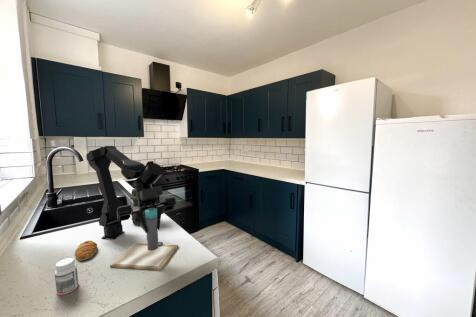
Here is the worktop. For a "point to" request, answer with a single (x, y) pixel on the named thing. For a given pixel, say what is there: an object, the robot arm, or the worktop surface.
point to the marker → (151, 228)
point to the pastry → (85, 250)
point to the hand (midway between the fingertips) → (152, 230)
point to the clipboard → (145, 257)
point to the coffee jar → (136, 204)
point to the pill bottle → (66, 276)
